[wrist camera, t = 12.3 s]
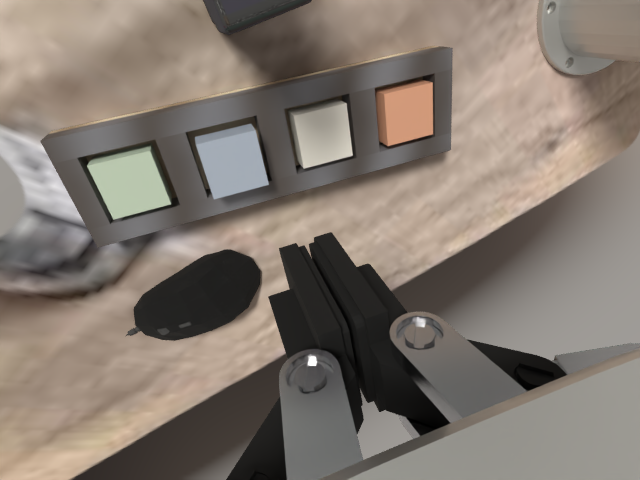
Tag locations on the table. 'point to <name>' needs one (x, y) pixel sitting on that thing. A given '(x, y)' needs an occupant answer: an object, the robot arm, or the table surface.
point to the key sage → (130, 180)
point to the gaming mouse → (198, 297)
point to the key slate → (232, 160)
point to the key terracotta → (404, 111)
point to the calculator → (247, 12)
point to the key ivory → (321, 132)
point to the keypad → (272, 132)
